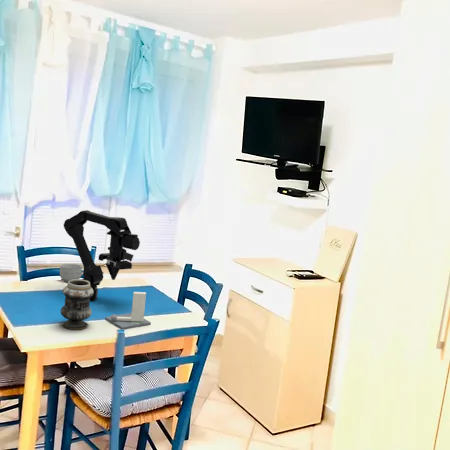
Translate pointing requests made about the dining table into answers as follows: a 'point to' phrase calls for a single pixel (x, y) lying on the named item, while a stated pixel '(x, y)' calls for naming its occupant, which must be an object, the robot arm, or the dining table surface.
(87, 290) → the grey ornate vase
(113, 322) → the dial board
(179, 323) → the dining table surface
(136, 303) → the dial crank handle
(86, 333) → the dining table surface
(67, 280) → the teacup
